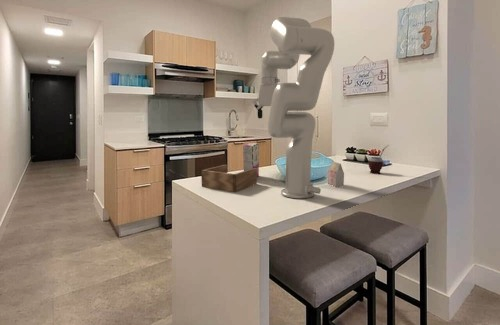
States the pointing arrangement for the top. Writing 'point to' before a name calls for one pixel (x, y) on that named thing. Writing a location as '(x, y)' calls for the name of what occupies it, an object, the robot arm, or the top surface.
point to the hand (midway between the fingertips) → (268, 118)
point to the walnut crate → (228, 179)
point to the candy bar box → (251, 156)
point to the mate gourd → (376, 163)
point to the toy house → (336, 175)
